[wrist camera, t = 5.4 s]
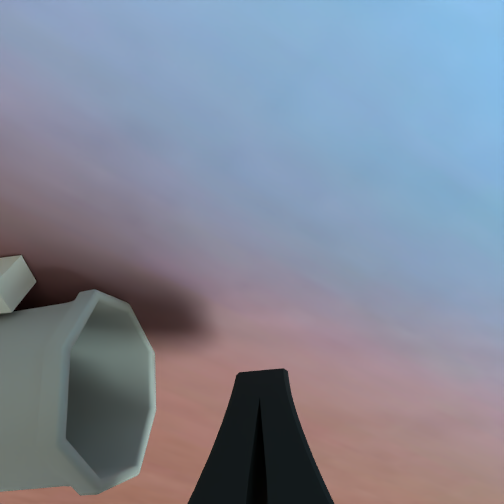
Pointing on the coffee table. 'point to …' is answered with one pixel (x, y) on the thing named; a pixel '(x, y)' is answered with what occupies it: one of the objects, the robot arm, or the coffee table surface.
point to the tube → (74, 395)
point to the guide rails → (14, 282)
